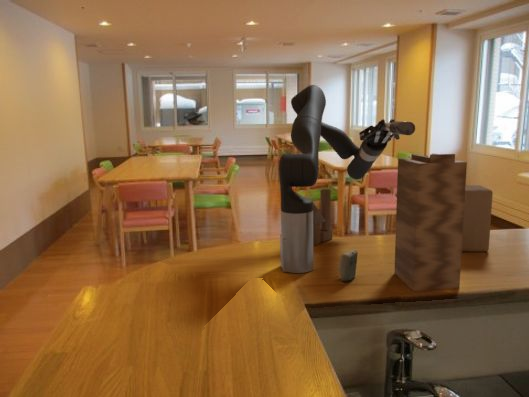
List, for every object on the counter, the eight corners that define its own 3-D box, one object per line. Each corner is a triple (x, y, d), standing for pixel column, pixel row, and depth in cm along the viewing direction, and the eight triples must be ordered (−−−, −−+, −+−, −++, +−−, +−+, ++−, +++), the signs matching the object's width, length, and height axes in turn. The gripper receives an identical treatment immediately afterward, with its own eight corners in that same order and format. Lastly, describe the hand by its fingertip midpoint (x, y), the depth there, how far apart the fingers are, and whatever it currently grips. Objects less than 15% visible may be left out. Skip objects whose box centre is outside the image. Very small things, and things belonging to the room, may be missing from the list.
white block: (358, 283, 119) (359, 254, 118) (338, 283, 120) (338, 254, 118) (356, 276, 125) (356, 248, 123) (337, 275, 125) (337, 248, 124)
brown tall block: (413, 291, 114) (418, 155, 107) (394, 273, 126) (398, 150, 120) (459, 288, 114) (467, 153, 108) (436, 271, 127) (442, 149, 121)
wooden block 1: (306, 243, 157) (305, 192, 154) (324, 237, 165) (324, 188, 161) (314, 245, 154) (314, 193, 151) (332, 239, 162) (333, 189, 159)
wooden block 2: (478, 243, 153) (482, 185, 149) (489, 252, 143) (494, 189, 139) (447, 243, 154) (450, 185, 150) (456, 252, 144) (460, 190, 140)
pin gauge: (402, 135, 123) (402, 122, 122) (377, 132, 144) (377, 120, 143) (415, 135, 123) (415, 121, 123) (388, 131, 144) (388, 120, 143)
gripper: (351, 137, 155) (364, 111, 139) (390, 136, 156) (408, 110, 140) (353, 157, 153) (367, 133, 136) (393, 156, 154) (412, 132, 137)
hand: (388, 121), depth 138 cm, fingers closed on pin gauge, 2 cm apart
